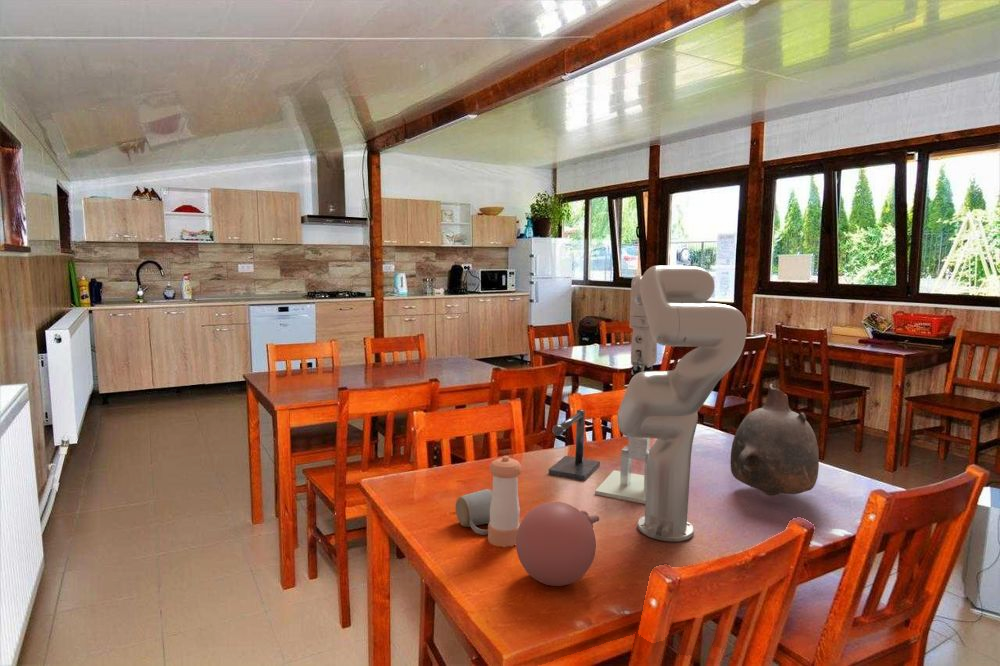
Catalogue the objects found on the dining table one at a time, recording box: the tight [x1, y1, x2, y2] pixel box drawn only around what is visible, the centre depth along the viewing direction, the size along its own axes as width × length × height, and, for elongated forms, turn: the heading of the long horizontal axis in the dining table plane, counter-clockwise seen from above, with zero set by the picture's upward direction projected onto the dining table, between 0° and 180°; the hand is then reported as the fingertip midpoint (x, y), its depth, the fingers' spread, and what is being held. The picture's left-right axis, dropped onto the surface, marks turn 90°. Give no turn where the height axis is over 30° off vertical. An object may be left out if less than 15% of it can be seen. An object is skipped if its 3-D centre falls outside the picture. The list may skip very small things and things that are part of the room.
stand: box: [548, 409, 601, 482], centre depth 176 cm, size 24×11×18 cm, turn 154°
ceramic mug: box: [455, 488, 493, 536], centre depth 143 cm, size 11×8×8 cm
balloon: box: [515, 501, 600, 587], centre depth 120 cm, size 15×20×15 cm
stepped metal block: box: [620, 437, 651, 490], centre depth 167 cm, size 4×8×14 cm, turn 64°
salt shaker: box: [487, 455, 522, 547], centre depth 136 cm, size 7×7×19 cm
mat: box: [594, 469, 646, 505], centre depth 168 cm, size 18×18×1 cm
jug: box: [729, 383, 820, 497], centre depth 163 cm, size 24×21×30 cm
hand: (641, 386), depth 164 cm, fingers open, 9 cm apart
